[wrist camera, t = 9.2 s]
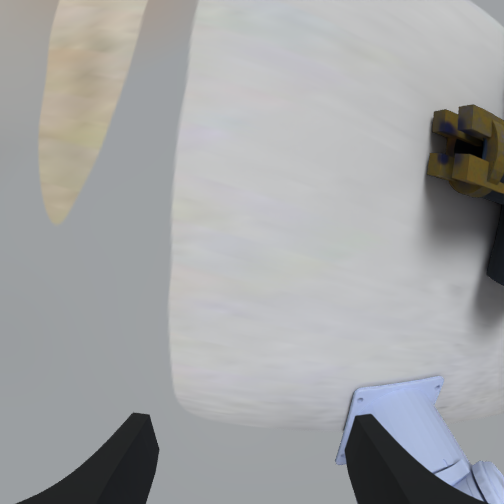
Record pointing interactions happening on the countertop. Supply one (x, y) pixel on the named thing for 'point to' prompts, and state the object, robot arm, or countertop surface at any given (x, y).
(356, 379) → the countertop surface
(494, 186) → the pipe connector
